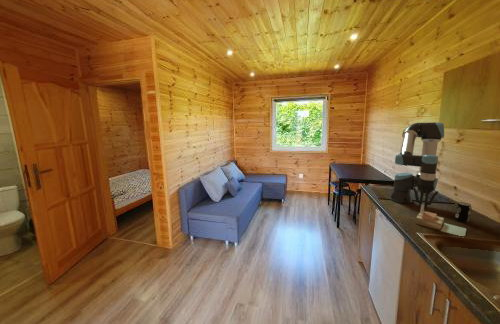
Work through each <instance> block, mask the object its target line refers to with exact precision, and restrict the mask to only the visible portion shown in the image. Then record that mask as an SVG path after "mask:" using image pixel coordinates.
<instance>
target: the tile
mask: <svg viewBox="0 0 500 324" xmlns="http://www.w3.org/2000/svg"><path fill="white" fill-rule="evenodd" d="M436 216H438V215H437V213H435V212H434V213H433V212H432V211H431V212H430V211H426V210H424V213H423V214H422V218H423V219H427V220H431V221H434V220H435V218H436Z"/></svg>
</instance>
